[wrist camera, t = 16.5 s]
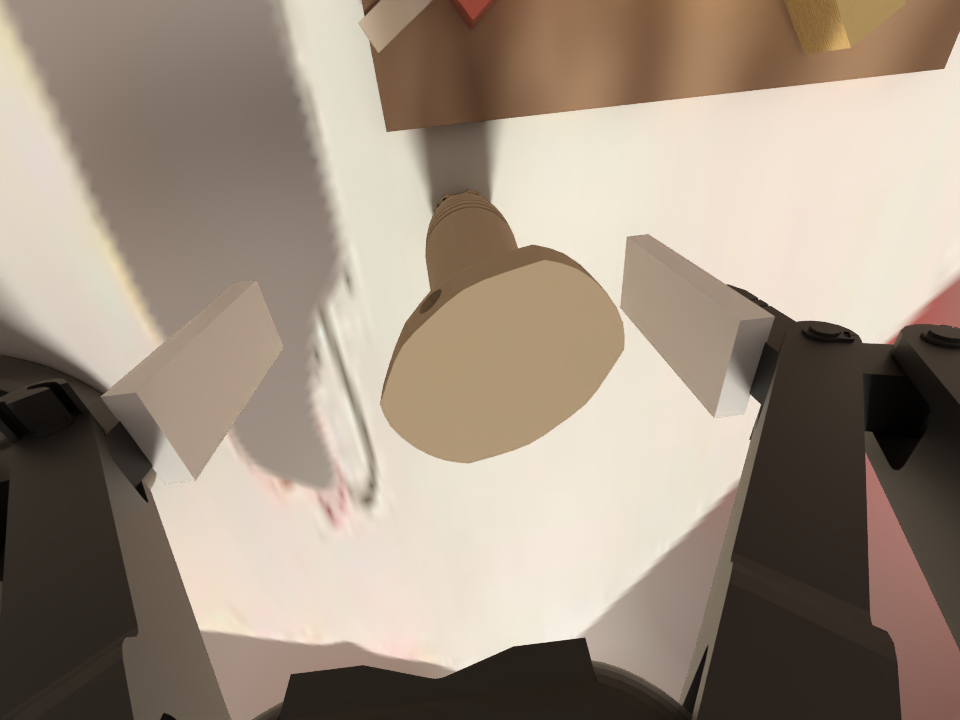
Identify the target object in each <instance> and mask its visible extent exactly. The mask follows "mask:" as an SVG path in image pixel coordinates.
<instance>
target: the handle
mask: <svg viewBox="0 0 960 720" xmlns="http://www.w3.org/2000/svg"><path fill="white" fill-rule="evenodd" d="M426 264H427V270H428V277H429V283H430V289H431V291H430V292H429V294H428V295H427V296H426V297H425V298H424V299H423V301H422V302H421V303H420V304H419V306H418V307H417V308H416V310H415V311H414V312H413V314H412V315H411V316H410V317H409V319H408V320H407V321H406V323H405V325H404V327H403V329H402V332H401V334H400V336H399V339H398V341H397V344H396V347H395V349H394V352H393V355H392V358H391V361H390V364H389V368H388V371H387V374H386V378H385V381H384V385H383V390H382V396H381V402H380V405H381V408H382V411H383V413H384V416H385V417H386V419H387V421H388V422H389V424H390V426H391V427H392V428H393V429H394V430H395V431H396V432H397V433H398V434H399V435H400V436H401V437H402V438H403V439H405V440H406V441H407V442H409V443H410V444H411V445H413V446H414V447H416V448H418V449H419V450H421V451H423V452H425V453H427V454H429V455H431V456H434V457H437V458H440V459H442V460H447V461H452V462H459V463H472V462H476V461H479V460H483V459H486V458H490V457H493V456H497V455H500V454H503V453H506V452H510V451H513V450H515V449H518V448H520V447H523V446H525V445H528V444H530V443H532V442H533V441H535V440H537V439H538V438H540V437H542V436H544V435H545V434H546V433H548V432H549V431H551V430H552V429H553V428H555V427H556V426H558V425H559V424H560V423H562V422H563V421H565V420H566V419H568V418H569V417H570V416H572V415H573V414H574V413H575V412H577V411H578V410H579V409H580V408H581V407H583V406H584V405H585V404H586V403H587V402H588V401H589V399H590V398H591V397H592V396H593V395H594V393H595V392H596V391H597V390H598V388H599V387H600V385H601V384H602V382H603V381H604V379H605V378H606V376H607V375H608V373H609V372H610V370H611V369H612V367H613V366H614V364H615V363H616V361H617V359H618V358H619V356H620V355H621V353H622V352H623V350H624V328H623V322H622V320H621V317H620V315H619V312H618V310H617V307H616V306H615V305H614V303H613V302H612V300H611V299H610V297H609V296H608V294H607V293H606V291H605V290H604V289H603V288H602V287H601V286H600V284H599V283H598V282H597V281H596V280H595V279H594V278H593V277H592V276H591V275H590V274H589V273H588V272H587V271H586V270H585V269H584V268H583V267H582V266H581V265H580V264H578V263H577V262H576V261H574V260H573V259H571V258H570V257H568V256H567V255H565V254H564V253H561V252H558V251H555V250H553V249H550V248H546V247H541V246H537V245H530V246H526V247H522V248H519V249H518V247H517V244H516V241H515V238H514V235H513V233H512V231H511V229H510V227H509V225H508V223H507V221H506V220H505V218H504V217H503V215H502V214H501V213H500V212H499V211H498V209H497V208H495V207H494V206H493V205H492V204H491V203H490V202H488V201H487V200H486V199H484V198H482V197H480V195H479V193H478V192H476V191H473V190H467V191H466V192H464V193H461V194H456V195H453V196H451V195H445V196H444V197H442V198H441V199H440V201H439V202H438V204H437V209H436V211H435V213H434V214H433V217H432V219H431V222H430V224H429V229H428V233H427V238H426Z"/></svg>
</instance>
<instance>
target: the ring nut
mask: <svg viewBox="0 0 960 720" xmlns="http://www.w3.org/2000/svg"><path fill="white" fill-rule="evenodd" d="M449 1H450V2H451V3H452V5H453V6H454V8H455V9H456V10H457V12H458V13H459V15H460V16H461V17H462V19H463V20H464V22H465V23H466V24H467V26H468V27H469V29H470V30H472V29H473V28H474V27H475V26H476V25H477V23H478V22H479V21H480V20H481V19H482V18H483V17H484V15H485V14H486V13H487V12H488V11H489V10H490V9H491V7H492V6H493V5H494V4H495V3H496V2H497V0H449ZM784 2H785V4H786V7H787V10H788V12H789V15H790V18H791V21H792V23H793V26H794V29H795V31H796V34H797V37H798V39H799V42H800V45H801V47H802V50H803V53H804V54H811V53H818V52H825V51H832V50H839V49H847V48H851V47H853V46H854V45H855V44H856V43H858V42H859V41H860V40H861V39H863V38H864V37H865V36H866V35H868V34H869V33H870V32H871V31H873V30H874V29H875V28H876V27H878V26H879V25H880V24H881V23H883V22H884V21H885V20H886V19H888V18H889V17H890V16H891V15H892V14H894V13H895V12H896V11H897V10H899V9H900V8H901V7H902V6H904V5H905V4H906V2H905V0H784Z"/></svg>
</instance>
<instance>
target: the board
mask: <svg viewBox="0 0 960 720" xmlns="http://www.w3.org/2000/svg"><path fill="white" fill-rule="evenodd" d="M905 2H906V4H905V5H904V6H902V7H901V8H900V9H899V10H897V11H896V12H895V13H894V14H892V15H891V16H890V17H889V18H888V19H886V20H885V21H884V22H883V23H881V24H880V25H879V26H878V27H876V28H875V29H874V30H873V31H871V32H870V33H869V34H868V35H866V36H865V37H864V38H863V39H861V40H860V41H859V42H858V43H856V44H855V45H854V46H853V47H851V48H847V49H839V50H832V51H825V52H818V53H811V54H804V53H803V50H802V47H801V45H800V42H799V39H798V37H797V34H796V31H795V29H794V26H793V23H792V21H791V18H790V15H789V12H788V10H787V7H786V4H785V2H784V0H497V2H496V3H495V4H494V5H493V6H492V7H491V9H490V10H489V11H488V12H487V13H486V14H485V15H484V17H483V18H482V19H481V20H480V21H479V22H478V23H477V25H476V26H475V27H474V28H473V29H472V30H470V29H469V27H468V26H467V24H466V23H465V22H464V20H463V19H462V17H461V16H460V15H459V13H458V12H457V10H456V9H455V8H454V6H453V5H452V3H451V2H450V1H449V0H362V4H363V10H364V15H365V17H364V18H363V19H362V20H361V21H360V22H359V23H358V24H359V25H360V27H361V28H362V30H363V31H364V33H365V34H366V36H367V37H368V39H369V41H370V46H371V52H372V57H373V62H374V67H375V73H376V78H377V83H378V89H379V94H380V99H381V104H382V110H383V115H384V120H385V125H386V131H387V132H390V131H399V130H407V129H416V128H425V127H434V126H443V125H452V124H460V123H469V122H478V121H487V120H496V119H505V118H513V117H522V116H531V115H540V114H549V113H558V112H566V111H575V110H584V109H593V108H602V107H611V106H619V105H628V104H637V103H646V102H655V101H663V100H672V99H681V98H690V97H699V96H708V95H716V94H725V93H734V92H743V91H752V90H761V89H769V88H778V87H787V86H796V85H805V84H814V83H822V82H831V81H840V80H849V79H858V78H867V77H875V76H884V75H893V74H902V73H911V72H920V71H928V70H937V69H944V68H945V66H946V63H947V61H948V58H949V56H950V53H951V51H952V49H953V46H954V44H955V41H956V39H957V36H958V34H959V32H960V0H905Z"/></svg>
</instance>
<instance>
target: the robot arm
mask: <svg viewBox="0 0 960 720" xmlns="http://www.w3.org/2000/svg"><path fill="white" fill-rule="evenodd" d="M620 308H621V309H622V310H623V311H624V313H625V314H626V315H627V316H628V317H629V319H630V320H631V321H632V322H633V323H634V324H635V326H636V327H637V328H638V329H639V330H640V331H641V333H642V334H643V335H644V336H645V337H646V339H647V340H648V341H649V342H650V343H651V344H652V346H653V347H654V348H655V349H656V350H657V351H658V353H659V354H660V355H661V356H662V357H663V358H664V360H665V361H666V362H667V363H668V364H669V366H670V367H671V368H672V369H673V370H674V371H675V373H676V374H677V375H678V376H679V377H680V378H681V380H682V381H683V382H684V383H685V384H686V386H687V387H688V388H689V389H690V390H691V391H692V393H693V394H694V395H695V396H696V397H697V398H698V400H699V401H700V402H701V403H702V404H703V406H704V407H705V408H706V409H707V410H708V411H709V413H710V414H711V415H712V416H713V417H714V418H719V417H727V416H736V415H744V413H745V410H746V407H747V404H748V401H749V398H750V394H751V395H752V396H753V397H754V398H755V399H756V400H757V401H758V402H759V403H760V404H761V407H760V410H759V413H758V415H757V418H756V421H755V424H754V427H753V430H752V433H751V436H750V439H749V440H751V441H750V445H749V449H748V453H747V456H746V460H745V464H744V468H743V471H742V475H741V479H740V482H739V486H738V490H737V494H736V498H735V501H734V505H733V509H732V512H731V516H730V520H729V524H728V528H727V531H726V535H725V539H724V542H723V546H722V550H721V553H720V557H719V561H718V565H717V568H716V572H715V576H714V580H713V583H712V588H711V591H710V595H709V598H708V602H707V606H706V610H705V613H704V617H703V621H702V625H701V629H700V632H699V636H698V639H697V643H696V647H695V651H694V654H693V658H692V662H691V665H690V669H689V671H688V674H687V677H686V681H685V684H684V687H683V690H682V694H681V697H680V700H679V703H678V702H677V701H675V700H674V699H673V698H672V697H670V696H669V695H668V694H666V693H665V692H664V691H662V690H661V689H659V688H658V687H656V686H655V685H653V684H651V683H649V682H648V681H646V680H645V679H643V678H641V677H639V676H637V675H635V674H633V673H631V672H629V671H626V670H624V669H622V668H619V667H615V666H612V665H609V664H606V663H602V662H597V661H592V660H591V658H590V654H589V650H588V647H587V643H586V639H585V638H578V639H570V640H562V641H554V642H546V643H538V644H530V645H522V646H514V647H511V648H509V649H507V650H505V651H502V652H500V653H498V654H496V655H493V656H491V657H489V658H487V659H484V660H482V661H480V662H478V663H475V664H473V665H471V666H469V667H466V668H464V669H462V670H459V671H457V672H455V673H453V674H450V675H448V676H446V677H443V678H439V679H431V678H426V677H421V676H415V675H410V674H405V673H400V672H395V671H390V670H384V669H379V668H374V667H369V666H364V665H362V666H355V667H347V668H338V669H331V670H323V671H314V672H306V673H298V674H291V676H290V680H289V683H288V687H287V691H286V695H285V698H284V702H281V703H279V704H277V705H275V706H274V707H272V708H270V709H269V710H267V711H265V712H263V713H262V714H260V715H258V716H257V717H256V718H254V719H253V720H901V707H900V693H899V679H898V665H897V658H896V653H895V647H894V643H893V641H892V639H891V637H890V636H889V634H888V632H887V631H884V630H882V629H880V628H878V627H875V626H873V625H872V623H871V618H870V602H869V568H868V534H867V500H866V468H865V467H866V466H865V452H866V454H867V456H868V458H869V460H870V462H871V465H872V467H873V469H874V471H875V473H876V475H877V477H878V479H879V481H880V484H881V486H882V488H883V490H884V492H885V494H886V496H887V498H888V500H889V502H890V505H891V506H892V509H893V511H894V513H895V515H896V517H897V519H898V521H899V524H900V525H901V528H902V530H903V532H904V534H905V536H906V538H907V540H908V543H909V544H910V547H911V549H912V551H913V553H914V555H915V557H916V559H917V561H918V564H919V566H920V568H921V570H922V572H923V574H924V576H925V578H926V580H927V582H928V585H929V587H930V589H931V591H932V593H933V595H934V597H935V599H936V601H937V604H938V606H939V608H940V610H941V612H942V614H943V616H944V618H945V620H946V623H947V625H948V627H949V629H950V631H951V633H952V635H953V637H954V639H955V642H956V644H957V646H958V648H959V650H960V328H956V327H954V328H952V326H947V325H939V326H938V325H931V324H915V325H909V326H905V327H904V328H903V329H902V330H901V331H900V333H899V335H898V337H897V339H896V341H895V343H894V345H889V344H868V343H862V341H861V339H860V337H859V335H857V334H856V333H854V332H853V331H851V330H849V329H847V328H844V327H842V326H839V325H835V324H831V323H827V322H819V321H799V322H795V321H794V320H792V319H791V318H789V317H787V316H786V315H784V314H783V313H781V312H779V311H778V310H776V309H775V308H773V307H772V306H768V304H767V303H765V302H764V301H762V300H758V298H757V297H756V296H754V295H752V294H751V293H749V292H748V291H746V290H743V289H740V288H737V287H734V286H731V285H726V284H724V283H723V282H721V281H720V280H718V279H716V278H715V277H713V276H712V275H710V274H709V273H707V272H706V271H704V270H703V269H701V268H700V267H698V266H696V265H695V264H693V263H692V262H690V261H689V260H687V259H686V258H684V257H683V256H681V255H679V254H678V253H676V252H675V251H673V250H672V249H670V248H669V247H667V246H666V245H664V244H663V243H661V242H659V241H658V240H656V239H655V238H653V237H652V236H650V235H649V234H647V235H638V236H630V237H627V241H626V252H625V263H624V274H623V285H622V295H621V306H620ZM283 348H284V347H283V345H282V342H281V340H280V338H279V335H278V333H277V330H276V328H275V325H274V323H273V320H272V318H271V315H270V313H269V310H268V308H267V306H266V303H265V301H264V298H263V296H262V293H261V291H260V288H259V286H258V283H257V281H256V280H254V281H245V282H237V283H234V284H232V285H231V286H230V287H229V288H228V289H227V290H226V291H224V292H223V293H222V294H221V295H219V296H218V297H217V298H216V299H215V300H214V301H212V302H211V303H210V304H209V305H208V306H207V307H205V308H204V309H203V310H202V311H201V312H199V314H197V315H196V316H195V317H194V318H192V319H191V320H190V321H189V322H188V323H187V324H185V325H184V326H183V327H182V328H181V329H180V330H178V331H177V332H176V333H175V334H174V335H172V336H171V337H170V338H169V339H168V340H167V341H165V342H164V343H163V344H162V345H161V346H160V347H158V348H157V349H156V350H155V351H154V352H152V353H151V354H150V355H149V356H148V357H147V358H145V359H144V360H143V361H142V362H141V363H140V364H138V365H137V366H136V367H135V368H134V369H132V370H131V371H130V372H129V373H128V374H127V375H125V376H124V377H123V378H122V379H121V380H120V381H118V382H117V383H116V384H115V385H114V386H112V387H111V388H110V389H109V390H108V391H107V392H105V393H104V394H103V395H102V394H100V393H99V392H97V391H95V390H94V389H92V388H90V387H89V386H87V385H85V384H83V383H81V382H79V381H77V380H75V379H73V378H71V377H69V376H67V375H65V374H62V373H60V372H58V371H55V370H53V369H50V368H47V367H44V366H41V365H38V364H35V363H31V362H27V361H23V360H19V359H14V358H10V357H3V356H0V720H231V718H230V715H229V713H228V710H227V708H226V705H225V702H224V699H223V696H222V693H221V691H220V688H219V685H218V682H217V679H216V676H215V674H214V671H213V668H212V665H211V662H210V659H209V657H208V653H207V651H206V648H205V645H204V642H203V639H202V636H201V633H200V630H199V628H198V625H197V622H196V619H195V616H194V613H193V610H192V608H191V605H190V602H189V599H188V596H187V593H186V590H185V588H184V585H183V582H182V579H181V576H180V573H179V570H178V567H177V565H176V562H175V559H174V556H173V553H172V550H171V547H170V545H169V542H168V539H167V536H166V533H165V530H164V527H163V525H162V522H161V519H160V516H159V513H158V510H157V507H156V504H155V502H154V499H153V496H152V493H151V490H150V489H151V487H152V486H153V484H154V481H155V478H156V473H157V475H158V476H159V477H160V479H161V480H162V481H163V483H164V484H173V483H181V482H190V481H196V479H197V478H198V476H199V475H200V473H201V472H202V470H203V469H204V467H205V466H206V464H207V462H208V461H209V459H210V458H211V456H212V455H213V453H214V452H215V450H216V449H217V447H218V446H219V444H220V443H221V441H222V440H223V438H224V437H225V435H226V434H227V432H228V431H229V429H230V428H231V426H232V425H233V423H234V422H235V420H236V419H237V417H238V416H239V414H240V413H241V411H242V410H243V408H244V407H245V405H246V404H247V402H248V401H249V399H250V398H251V396H252V395H253V393H254V392H255V390H256V388H257V387H258V385H259V384H260V383H261V381H262V380H263V378H264V376H265V375H266V373H267V372H268V370H269V369H270V367H271V366H272V364H273V363H274V361H275V360H276V358H277V357H278V355H279V354H280V352H281V351H282V349H283Z"/></svg>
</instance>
